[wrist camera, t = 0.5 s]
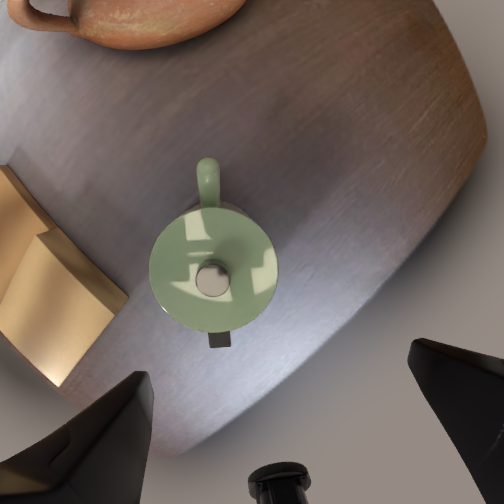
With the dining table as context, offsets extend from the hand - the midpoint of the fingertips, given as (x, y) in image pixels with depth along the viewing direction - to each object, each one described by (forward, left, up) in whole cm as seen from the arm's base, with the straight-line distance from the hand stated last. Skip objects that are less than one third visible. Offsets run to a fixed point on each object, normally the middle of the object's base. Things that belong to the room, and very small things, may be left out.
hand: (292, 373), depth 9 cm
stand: (0, +18, -13) cm, 23 cm away
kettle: (+1, +2, -13) cm, 14 cm away
